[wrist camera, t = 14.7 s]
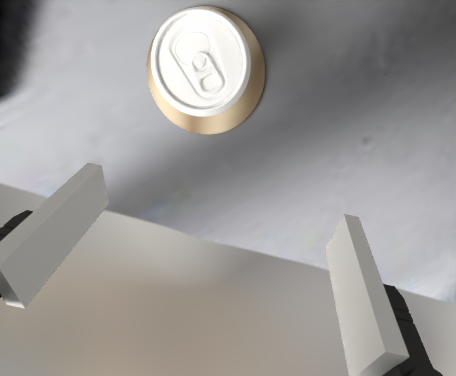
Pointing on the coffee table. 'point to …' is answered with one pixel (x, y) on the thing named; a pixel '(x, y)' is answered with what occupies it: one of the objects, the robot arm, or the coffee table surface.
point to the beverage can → (200, 61)
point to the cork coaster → (235, 112)
